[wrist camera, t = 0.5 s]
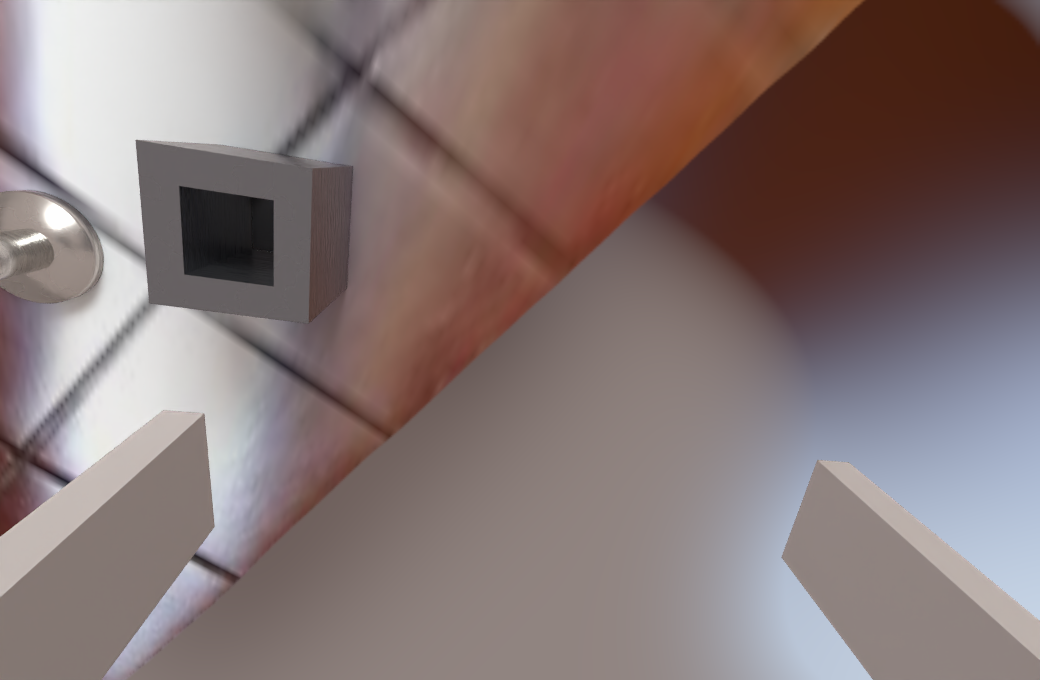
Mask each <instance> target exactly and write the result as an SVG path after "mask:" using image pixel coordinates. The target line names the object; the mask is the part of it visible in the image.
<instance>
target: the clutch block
mask: <svg viewBox="0 0 1040 680" xmlns="http://www.w3.org/2000/svg"><path fill="white" fill-rule="evenodd" d="M136 149H137V161H138V173H139V185H140V197H141V209H142V221H143V233H144V245H145V257H146V269H147V281H148V293H149V303H150V304H158V305H166V306H174V307H182V308H190V309H197V310H205V311H213V312H221V313H229V314H237V315H245V316H252V317H260V318H268V319H276V320H284V321H292V322H299V323H307V324H309V323H310V322H311V321H312V320H313V319H314V318H315V317H316V316H317V315H318V314H320V313H321V312H322V311H323V310H324V309H325V308H326V307H327V306H328V305H329V304H330V303H331V302H332V301H334V300H335V299H336V298H337V297H338V296H339V295H340V294H341V293H342V292H343V291H344V290H345V289H346V288H347V277H348V257H349V236H350V216H351V196H352V175H353V166H347V165H341V164H335V163H329V162H323V161H317V160H311V159H305V158H299V157H292V156H286V155H280V154H274V153H268V152H262V151H256V150H250V149H244V148H237V147H231V146H225V145H217V144H199V143H182V142H165V141H147V140H136ZM252 197H255V198H262V199H268V200H274V252H273V251H265V250H258V249H252Z"/></svg>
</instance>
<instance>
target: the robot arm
mask: <svg viewBox="0 0 1040 680" xmlns="http://www.w3.org/2000/svg"><path fill="white" fill-rule="evenodd" d="M214 527H215V526H214V515H213V504H212V493H211V482H210V471H209V460H208V449H207V437H206V426H205V415H204V413H192V412H179V411H166V410H163V411H162V412H161V413H159V414H158V415H157V416H155V417H154V418H153V419H152V420H150V421H149V422H148V423H146V424H145V425H144V426H143V427H141V428H140V429H139V430H137V431H136V432H135V433H134V434H132V435H131V436H130V437H128V438H127V439H126V440H125V441H123V442H122V443H121V444H119V445H118V446H117V447H115V448H114V449H113V450H112V451H110V452H109V453H108V454H106V455H105V456H104V457H103V458H101V459H100V460H99V461H97V462H96V463H95V464H94V465H92V466H91V467H90V468H88V469H87V470H86V471H85V472H83V473H82V474H81V475H79V476H78V477H77V478H76V479H74V480H73V481H72V482H70V483H69V484H68V485H67V486H65V487H64V488H63V489H61V490H60V491H59V492H58V493H56V494H55V495H54V496H52V497H51V498H50V499H49V500H47V501H46V502H45V503H43V504H42V505H41V506H39V507H38V508H37V509H36V510H34V511H33V512H32V513H30V514H29V515H28V516H27V517H25V518H24V519H23V520H21V521H20V522H19V523H18V524H16V525H15V526H14V527H12V528H11V529H10V530H9V531H7V532H6V533H5V534H3V535H2V536H1V537H0V680H102V678H103V677H104V676H105V674H106V673H107V672H108V670H109V669H110V667H111V666H112V665H113V663H114V662H115V661H116V659H117V658H118V657H119V655H120V654H121V653H122V651H123V650H124V649H125V647H126V646H127V644H128V643H129V642H130V640H131V639H132V638H133V636H134V635H135V634H136V632H137V631H138V630H139V628H140V627H141V626H142V624H143V623H144V621H145V620H146V619H147V617H148V616H149V615H150V613H151V612H152V611H153V609H154V608H155V607H156V605H157V604H158V603H159V601H160V600H161V598H162V597H163V596H164V594H165V593H166V592H167V590H168V589H169V588H170V586H171V585H172V584H173V582H174V581H175V579H176V578H177V577H178V575H179V574H180V573H181V571H182V570H183V569H184V567H185V566H186V565H187V563H188V562H189V561H190V559H191V558H192V556H193V555H194V554H195V552H196V551H197V550H198V548H199V547H200V546H201V544H202V543H203V542H204V540H205V539H206V538H207V536H208V535H209V533H210V532H211V531H212V529H213V528H214ZM782 558H783V560H784V561H785V563H786V564H787V565H788V567H789V568H790V569H791V571H792V572H793V573H794V575H795V576H796V577H797V579H798V580H799V581H800V583H801V584H802V585H803V587H804V588H805V589H806V591H807V592H808V593H809V595H810V596H811V597H812V599H813V600H814V601H815V603H816V604H817V605H818V607H819V608H820V609H821V610H822V612H823V613H824V615H825V616H826V617H827V619H828V620H829V621H830V623H831V624H832V625H833V627H834V628H835V629H836V631H837V632H838V633H839V635H840V636H841V637H842V639H843V640H844V641H845V643H846V644H847V645H848V647H849V648H850V649H851V651H852V652H853V653H854V655H855V656H856V657H857V659H858V660H859V661H860V663H861V664H862V665H863V667H864V668H865V669H866V671H867V672H868V673H869V675H870V676H871V678H872V679H873V680H1040V621H1039V620H1038V619H1037V618H1035V617H1034V616H1033V615H1032V614H1031V613H1030V612H1028V611H1027V610H1026V609H1025V608H1024V607H1022V606H1021V605H1020V604H1019V603H1018V602H1016V601H1015V600H1014V599H1013V598H1011V597H1010V596H1009V595H1008V594H1007V593H1006V592H1004V591H1003V590H1002V589H1001V588H999V587H998V586H997V585H996V584H995V583H993V582H992V581H991V580H990V579H989V578H987V577H986V576H985V575H984V574H982V573H981V572H980V571H979V570H978V569H977V568H975V567H974V566H973V565H972V564H971V563H969V562H968V561H967V560H966V559H965V558H963V557H962V556H961V555H960V554H958V553H957V552H956V551H955V550H954V549H952V548H951V547H950V546H949V545H948V544H946V543H945V542H944V541H943V540H942V539H940V538H939V537H938V536H937V535H936V534H934V533H933V532H932V531H931V530H929V529H928V528H927V527H926V526H925V525H923V524H922V523H921V522H920V521H919V520H917V519H916V518H915V517H914V516H913V515H911V514H910V513H909V512H908V511H907V510H905V509H904V508H903V507H902V506H901V505H899V504H898V503H897V502H896V501H894V500H893V499H892V498H891V497H890V496H888V495H887V494H886V493H885V492H884V491H882V490H881V489H880V488H879V487H877V486H876V485H875V484H874V483H873V482H872V481H870V480H869V479H868V478H867V477H866V476H864V475H863V474H862V473H861V472H859V471H858V470H857V469H856V468H855V467H854V466H852V465H851V464H850V463H849V462H836V461H823V460H817V463H816V466H815V468H814V471H813V473H812V476H811V479H810V482H809V484H808V487H807V490H806V492H805V495H804V498H803V501H802V503H801V506H800V509H799V511H798V514H797V517H796V520H795V522H794V525H793V528H792V530H791V533H790V536H789V538H788V541H787V544H786V547H785V550H784V552H783V555H782Z"/></svg>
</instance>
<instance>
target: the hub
mask: <svg viewBox="0 0 1040 680" xmlns="http://www.w3.org/2000/svg"><path fill="white" fill-rule="evenodd" d="M103 262H104V261H103V251H102V246H101V243H100V240H99V238H98V236H97V234H96V232H95V230H94V229H93V227H92V226H91V224H90V223H89V222H88V220H87V219H86V218H85V217H84V216H83V215H82V214H81V213H80V212H79V211H78V210H77V209H75V208H74V207H73V206H71V205H70V204H69V203H67V202H65V201H63V200H62V199H60V198H58V197H55V196H53V195H50V194H47V193H44V192H39V191H32V190H20V191H6V192H0V287H1V288H3V289H5V290H6V291H8V292H9V293H11V294H13V295H15V296H17V297H20V298H22V299H25V300H28V301H32V302H37V303H58V302H63V301H66V300H69V299H72V298H75V297H78V296H81V295H82V294H84V293H86V292H88V291H89V290H90V289H91V288H92V287H93V286H94V285H95V284H96V283H97V281H98V280H99V278H100V276H101V273H102V269H103Z"/></svg>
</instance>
